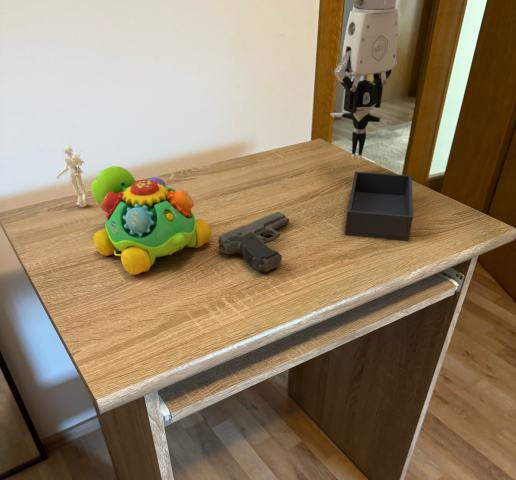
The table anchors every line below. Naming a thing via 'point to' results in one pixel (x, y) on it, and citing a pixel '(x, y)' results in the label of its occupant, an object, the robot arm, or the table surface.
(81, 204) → the figurine
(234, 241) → the handgun
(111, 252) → the turtle toy
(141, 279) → the table surface
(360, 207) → the dark grey open box
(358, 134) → the toy
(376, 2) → the robot arm
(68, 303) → the table surface
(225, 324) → the table surface
